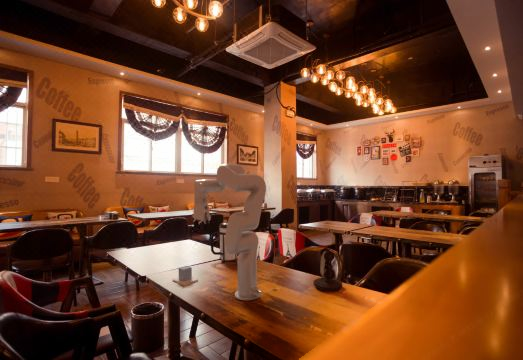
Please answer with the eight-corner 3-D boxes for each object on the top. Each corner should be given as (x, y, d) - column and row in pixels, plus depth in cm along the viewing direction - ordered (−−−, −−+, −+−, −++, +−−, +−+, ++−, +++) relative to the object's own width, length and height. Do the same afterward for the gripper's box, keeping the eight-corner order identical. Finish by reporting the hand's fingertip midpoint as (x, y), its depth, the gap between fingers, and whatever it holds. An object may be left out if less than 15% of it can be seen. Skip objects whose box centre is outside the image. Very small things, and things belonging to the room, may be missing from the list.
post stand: (198, 281, 160) (197, 270, 160) (184, 285, 153) (184, 274, 154) (186, 276, 168) (186, 266, 168) (172, 280, 161) (172, 270, 161)
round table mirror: (310, 282, 155) (310, 246, 155) (336, 281, 156) (336, 245, 156) (317, 293, 141) (317, 253, 141) (346, 292, 142) (345, 252, 142)
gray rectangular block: (191, 279, 161) (191, 267, 161) (183, 281, 157) (183, 269, 157) (186, 277, 164) (186, 265, 165) (178, 279, 161) (178, 267, 161)
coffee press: (225, 256, 213) (225, 216, 213) (243, 259, 205) (242, 218, 205) (210, 262, 198) (209, 219, 198) (228, 265, 190) (227, 221, 190)
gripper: (215, 200, 164) (215, 230, 164) (197, 199, 176) (197, 227, 176) (204, 201, 159) (205, 232, 159) (187, 200, 170) (187, 228, 170)
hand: (201, 229), depth 167 cm, fingers open, 9 cm apart
